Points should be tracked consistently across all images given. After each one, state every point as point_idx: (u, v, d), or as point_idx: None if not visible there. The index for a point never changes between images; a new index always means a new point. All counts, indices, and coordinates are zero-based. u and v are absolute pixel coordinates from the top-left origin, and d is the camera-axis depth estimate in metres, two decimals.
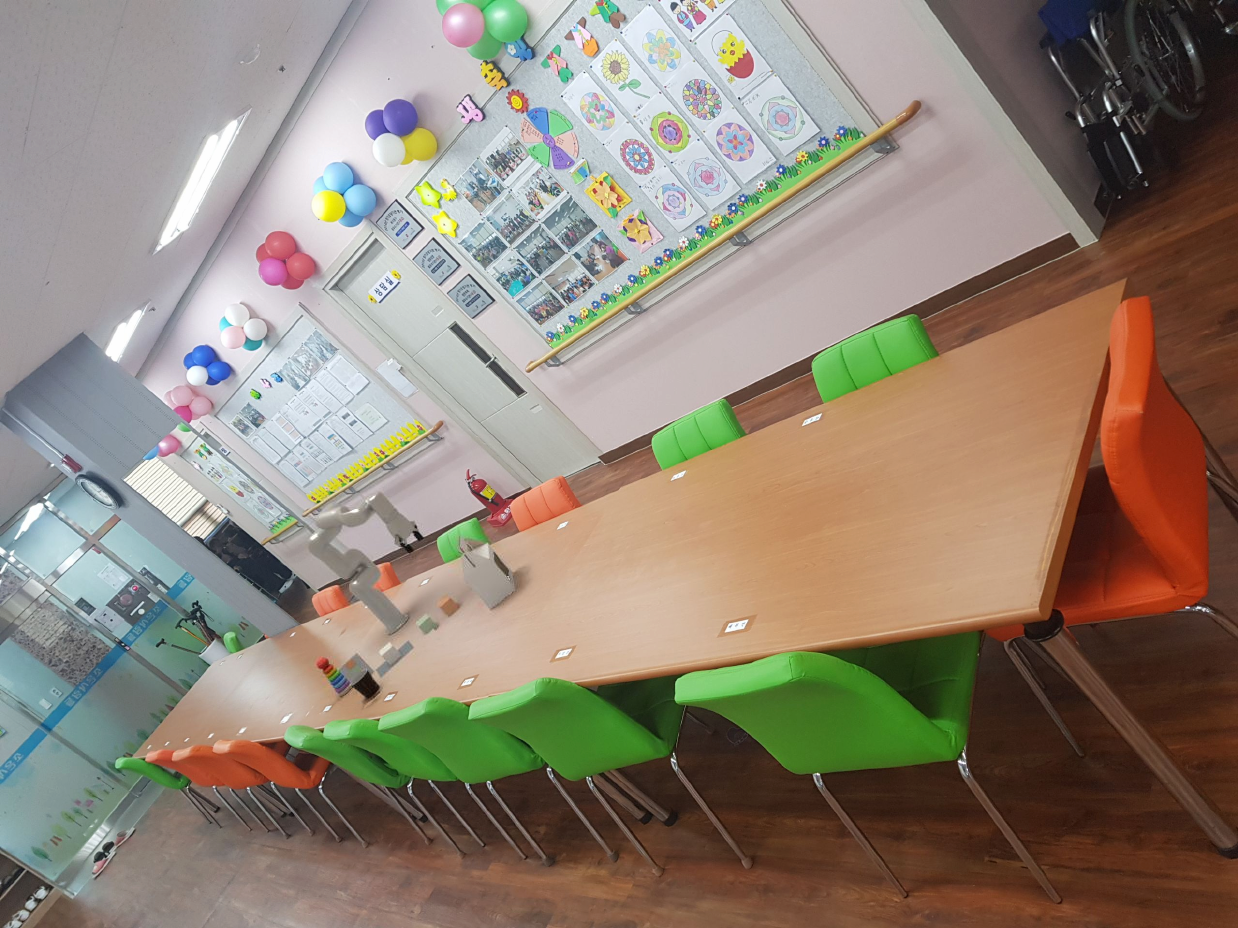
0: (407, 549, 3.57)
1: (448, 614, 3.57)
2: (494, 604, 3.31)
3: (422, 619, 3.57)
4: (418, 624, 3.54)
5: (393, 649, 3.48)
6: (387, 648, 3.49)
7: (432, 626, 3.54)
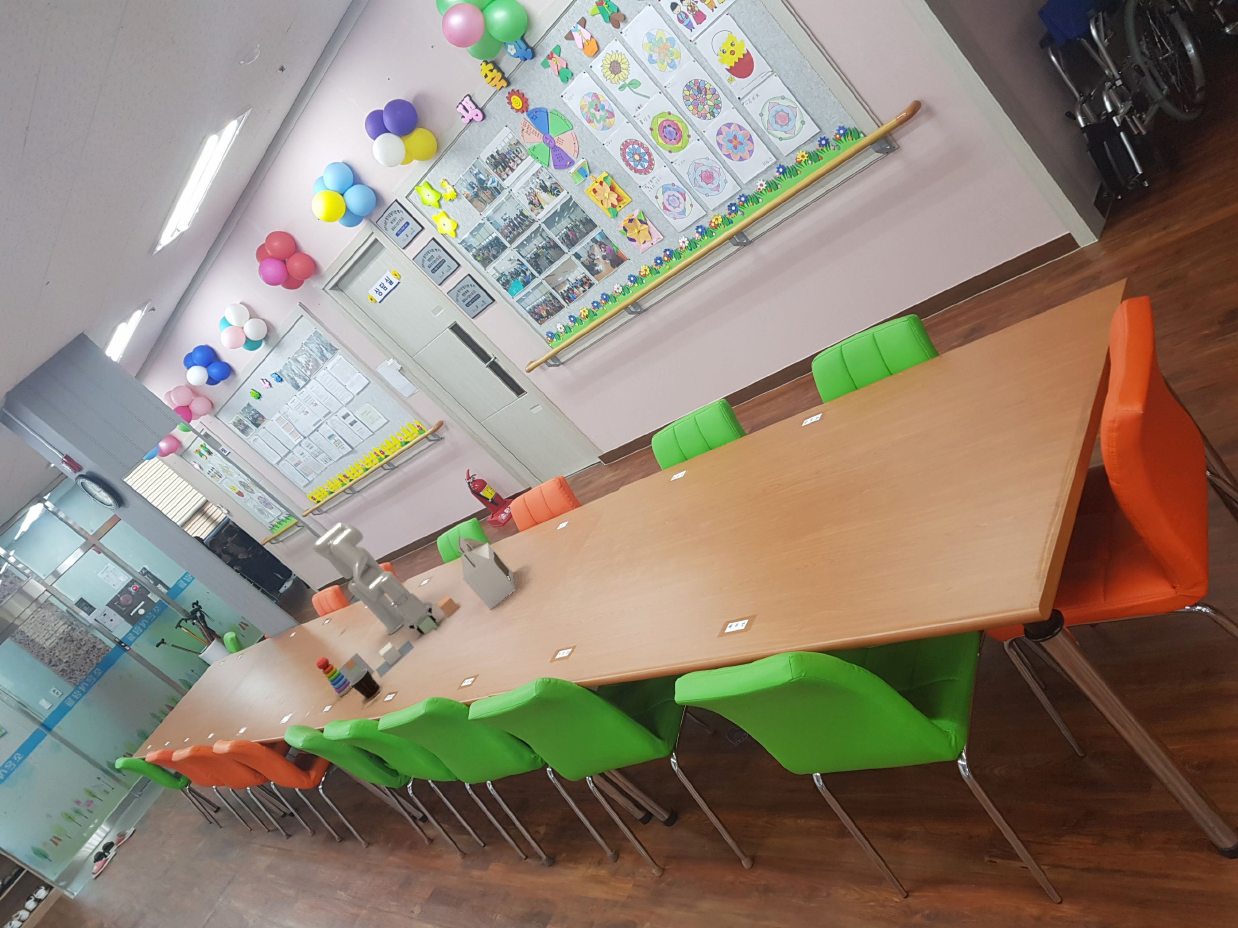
0: (433, 617, 3.58)
1: (448, 614, 3.57)
2: (494, 604, 3.31)
3: (422, 619, 3.57)
4: (418, 624, 3.54)
5: (393, 649, 3.48)
6: (387, 648, 3.49)
7: (432, 626, 3.54)
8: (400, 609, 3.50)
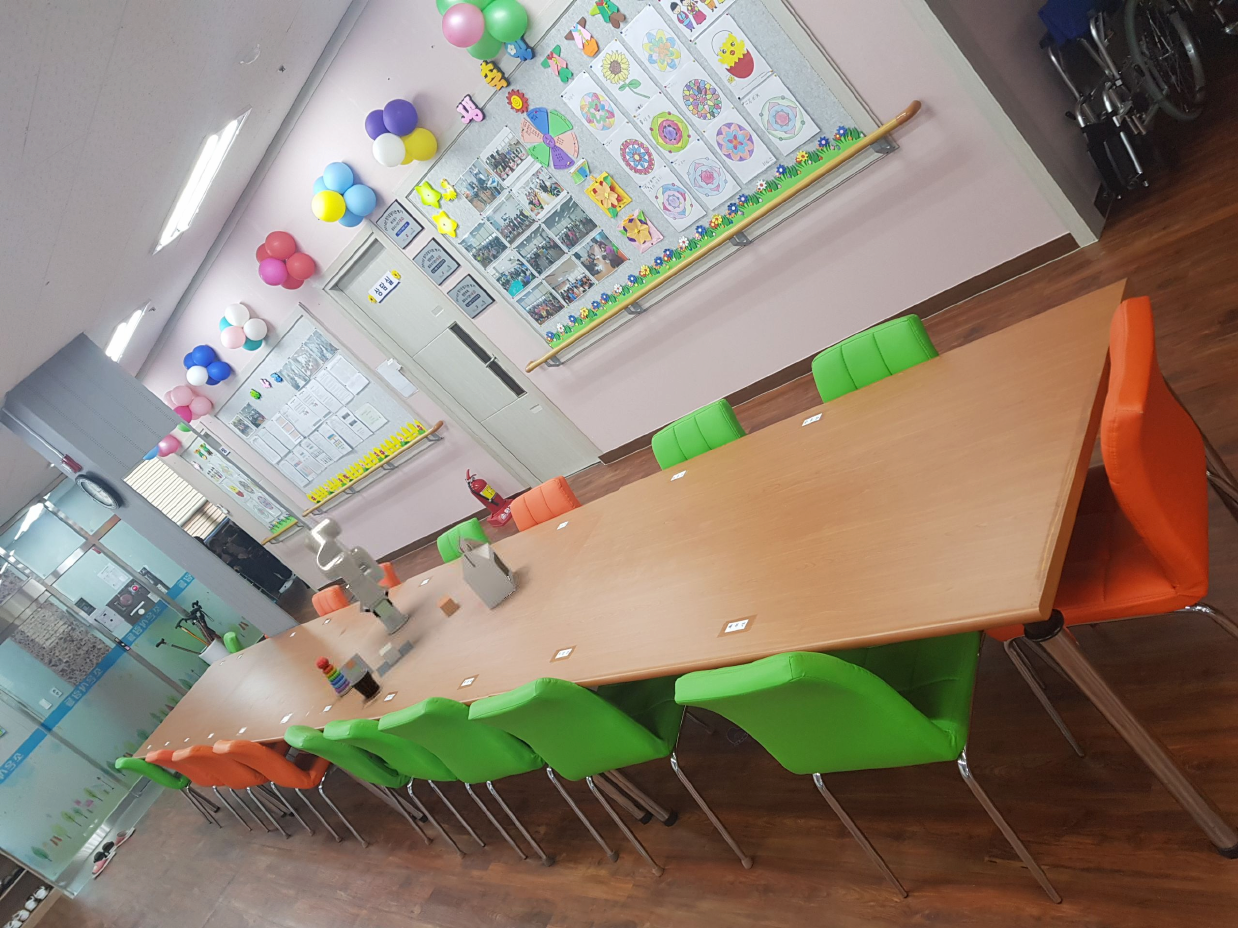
0: None
1: (448, 614, 3.57)
2: (494, 604, 3.31)
3: (378, 602, 3.49)
4: (374, 607, 3.47)
5: (393, 649, 3.48)
6: (387, 648, 3.49)
7: (388, 609, 3.47)
8: (355, 592, 3.42)
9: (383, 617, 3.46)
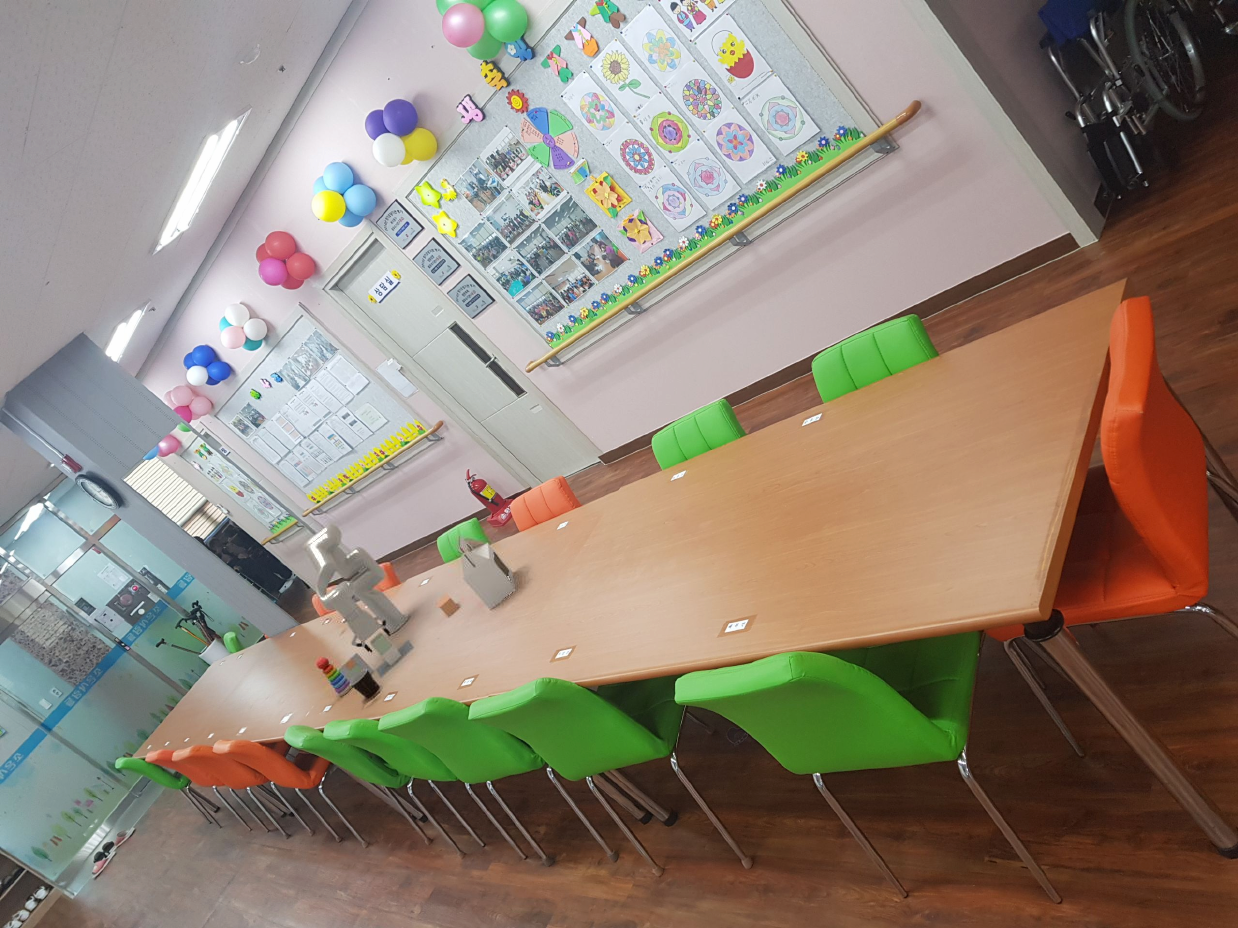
0: (387, 629, 3.50)
1: (448, 614, 3.57)
2: (494, 604, 3.31)
3: (376, 638, 3.49)
4: (372, 643, 3.47)
5: (393, 649, 3.48)
6: None
7: (386, 645, 3.46)
8: (351, 626, 3.42)
9: (381, 653, 3.46)
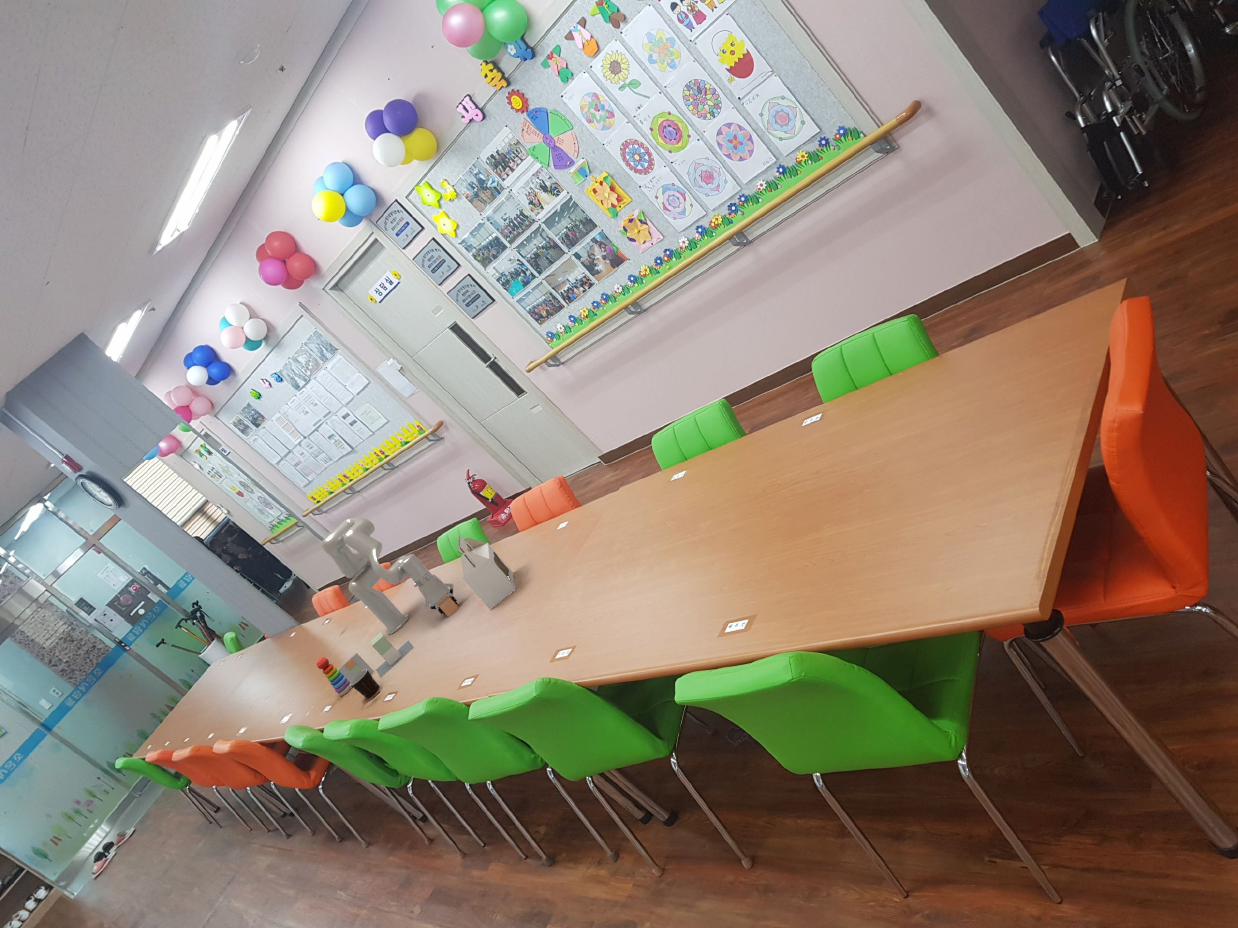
0: (454, 598, 3.62)
1: (448, 614, 3.57)
2: (494, 604, 3.31)
3: (376, 638, 3.49)
4: (372, 643, 3.47)
5: (393, 649, 3.48)
6: None
7: (386, 645, 3.46)
8: (422, 590, 3.54)
9: (381, 653, 3.46)
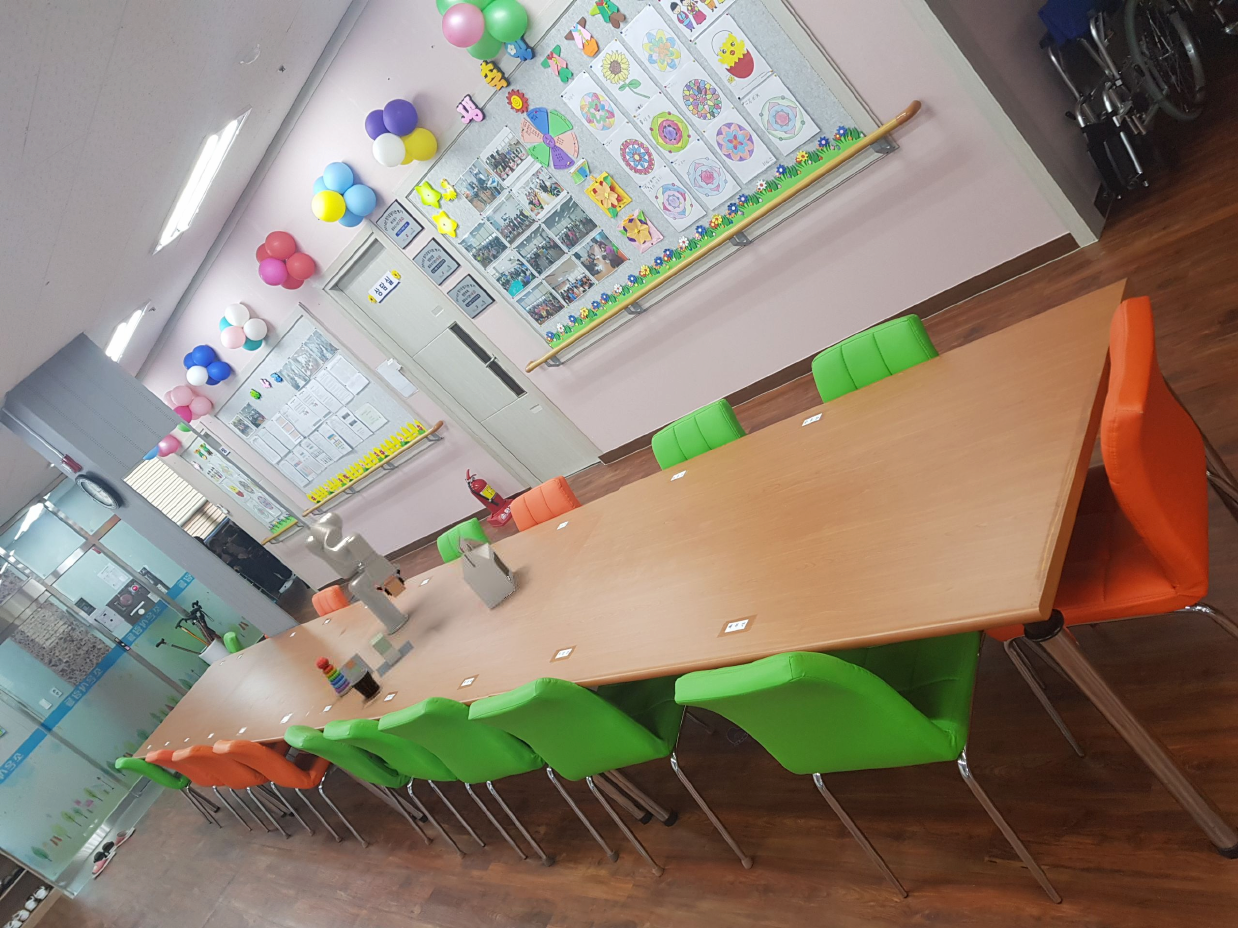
0: None
1: (394, 595, 3.48)
2: (494, 604, 3.31)
3: (376, 638, 3.49)
4: (372, 643, 3.47)
5: (393, 649, 3.48)
6: None
7: (386, 645, 3.46)
8: (367, 570, 3.44)
9: (381, 653, 3.46)
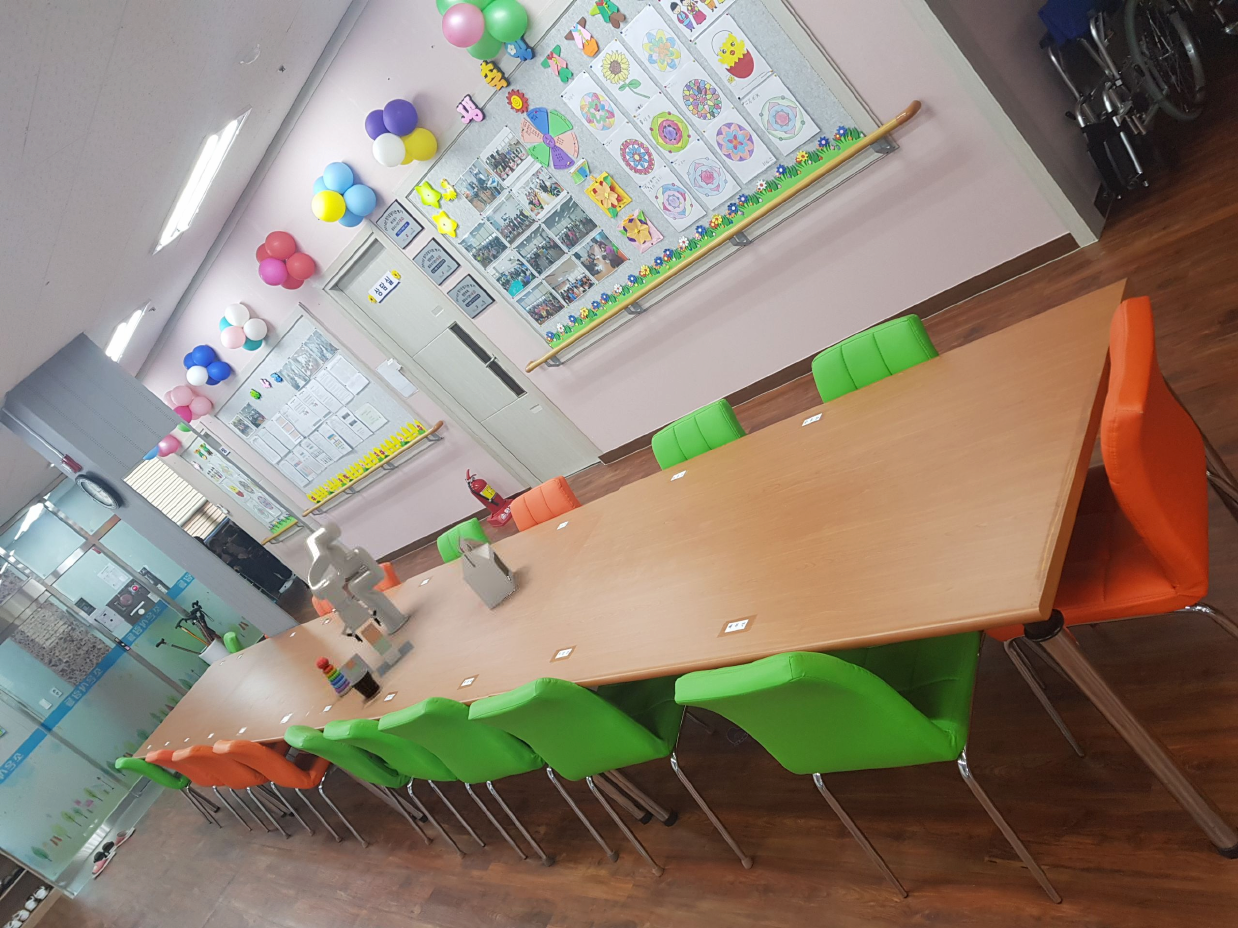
0: None
1: (371, 643, 3.44)
2: (494, 604, 3.31)
3: None
4: None
5: (393, 649, 3.48)
6: None
7: (386, 645, 3.46)
8: (341, 616, 3.40)
9: (381, 653, 3.46)
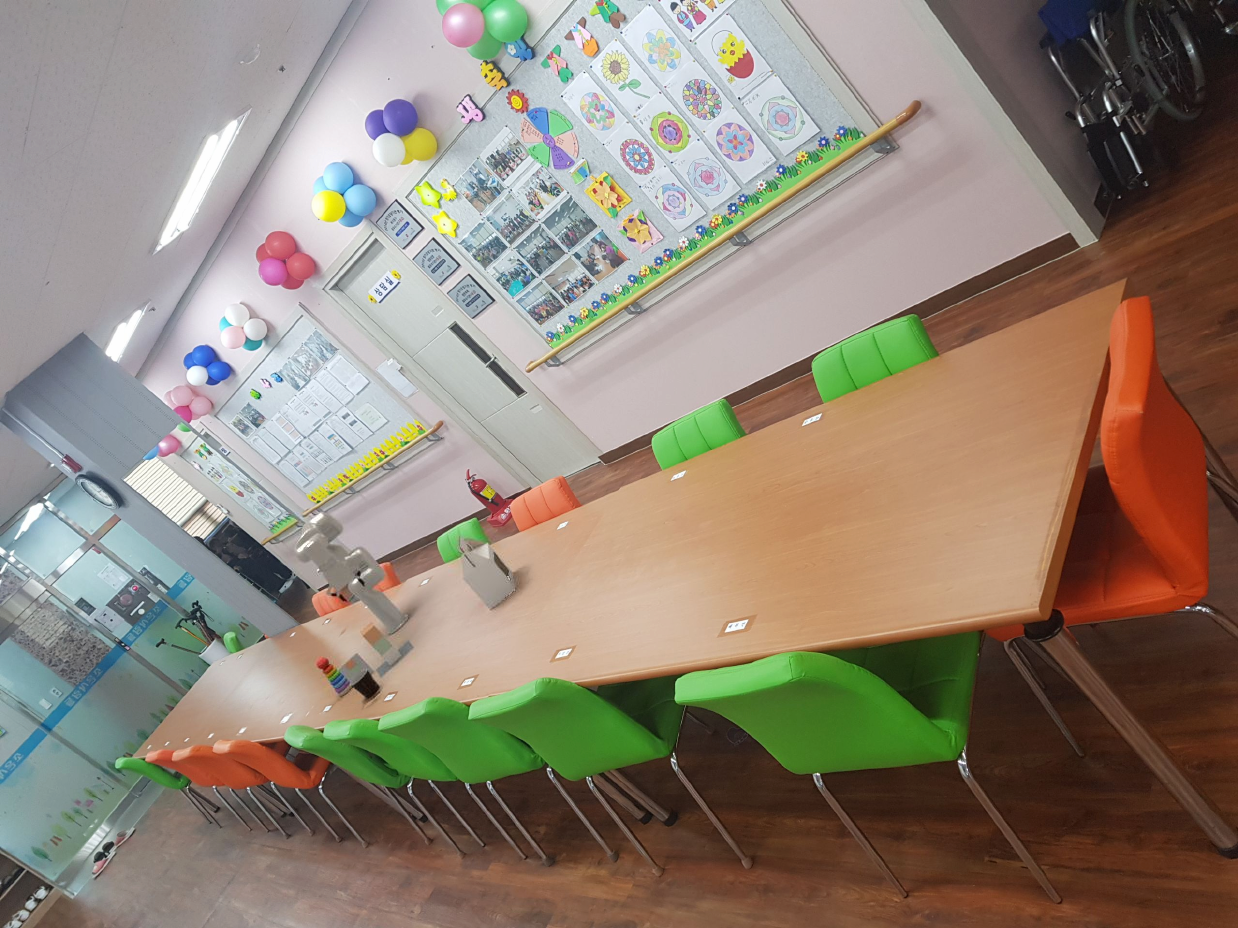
0: (362, 580, 3.54)
1: (371, 643, 3.44)
2: (494, 604, 3.31)
3: None
4: None
5: (393, 649, 3.48)
6: None
7: (386, 645, 3.46)
8: (325, 575, 3.45)
9: (381, 653, 3.46)
